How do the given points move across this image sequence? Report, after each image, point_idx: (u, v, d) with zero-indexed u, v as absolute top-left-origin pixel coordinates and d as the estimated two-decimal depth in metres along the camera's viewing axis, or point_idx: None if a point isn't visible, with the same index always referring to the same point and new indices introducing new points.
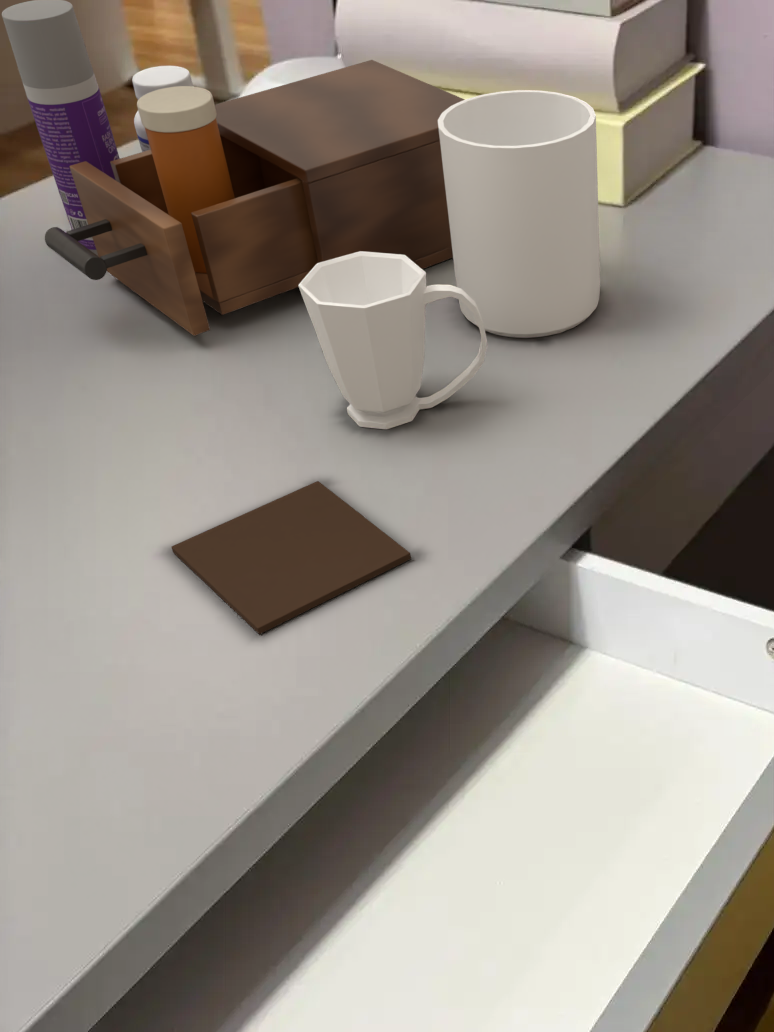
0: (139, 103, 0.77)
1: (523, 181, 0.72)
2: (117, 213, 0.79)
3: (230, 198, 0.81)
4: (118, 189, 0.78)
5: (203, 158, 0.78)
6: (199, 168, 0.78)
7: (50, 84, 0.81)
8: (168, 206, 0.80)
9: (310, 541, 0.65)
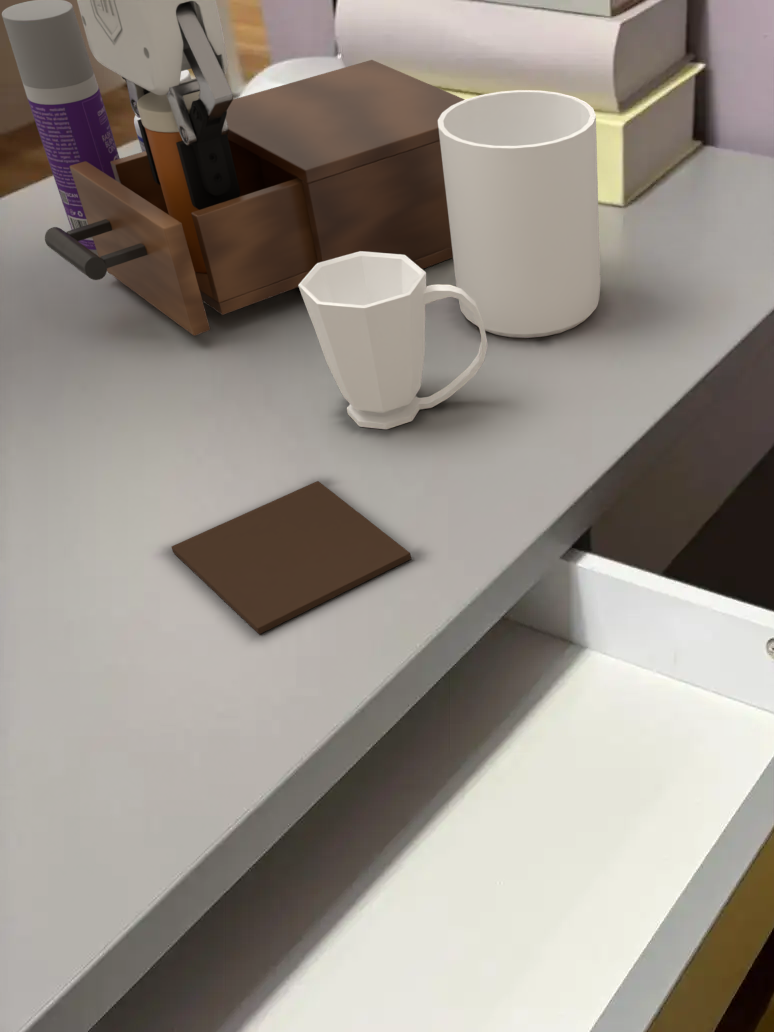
0: (139, 103, 0.77)
1: (523, 181, 0.72)
2: (117, 213, 0.79)
3: None
4: (118, 189, 0.78)
5: None
6: None
7: (50, 84, 0.81)
8: (168, 206, 0.80)
9: (310, 541, 0.65)
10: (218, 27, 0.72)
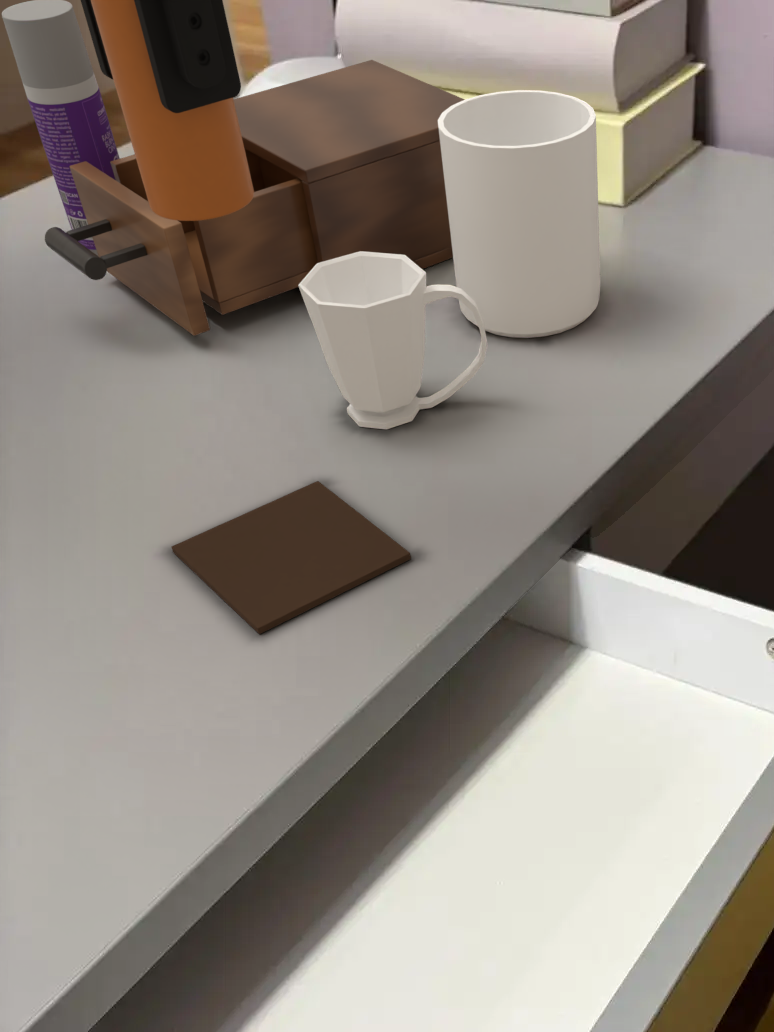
0: None
1: (523, 181, 0.72)
2: (117, 213, 0.79)
3: None
4: (118, 189, 0.78)
5: None
6: None
7: (50, 84, 0.81)
8: (125, 109, 0.49)
9: (310, 541, 0.65)
10: None
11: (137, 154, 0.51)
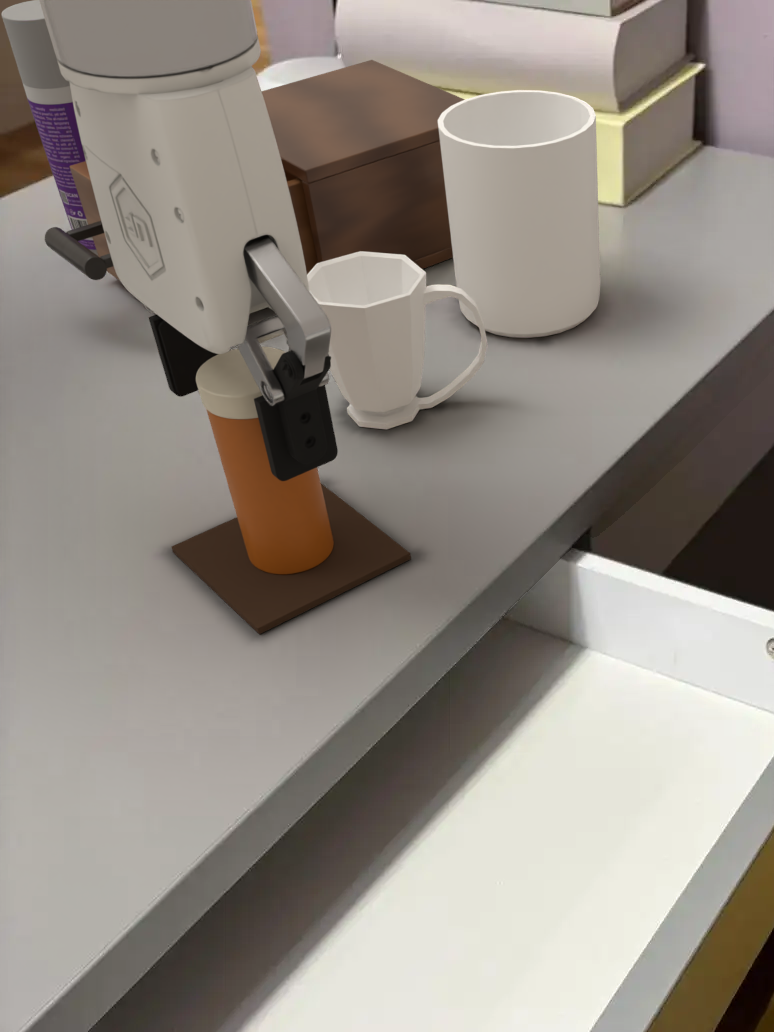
0: (199, 378, 0.57)
1: (523, 181, 0.72)
2: None
3: (315, 484, 0.61)
4: None
5: None
6: None
7: (50, 83, 0.81)
8: (234, 497, 0.61)
9: None
10: (300, 264, 0.51)
11: (241, 526, 0.62)
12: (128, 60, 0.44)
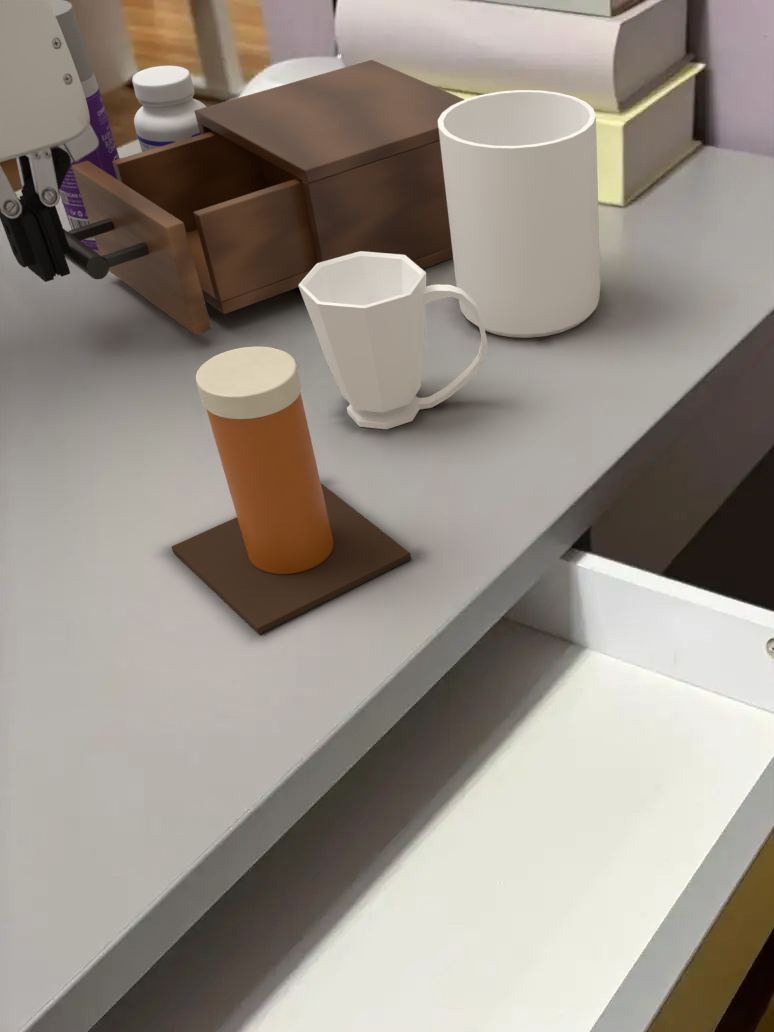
0: (199, 378, 0.57)
1: (523, 181, 0.72)
2: (119, 213, 0.79)
3: (315, 484, 0.61)
4: (120, 188, 0.78)
5: (283, 445, 0.58)
6: (278, 458, 0.58)
7: None
8: (234, 497, 0.61)
9: None
10: None
11: (241, 526, 0.62)
12: None
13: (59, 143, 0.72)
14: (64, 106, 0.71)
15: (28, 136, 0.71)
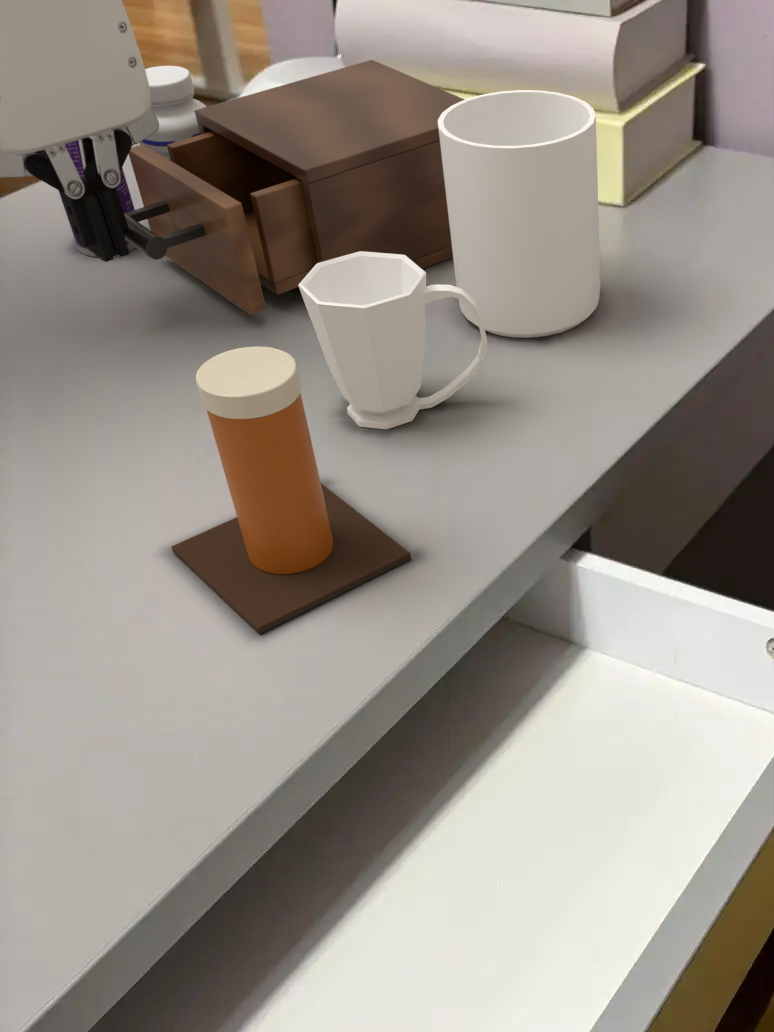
0: (199, 378, 0.57)
1: (523, 181, 0.72)
2: (176, 195, 0.81)
3: (315, 484, 0.61)
4: (177, 171, 0.80)
5: (283, 445, 0.58)
6: (278, 458, 0.58)
7: None
8: (234, 497, 0.61)
9: None
10: None
11: (241, 526, 0.62)
12: None
13: (122, 125, 0.74)
14: (128, 89, 0.73)
15: (93, 118, 0.73)
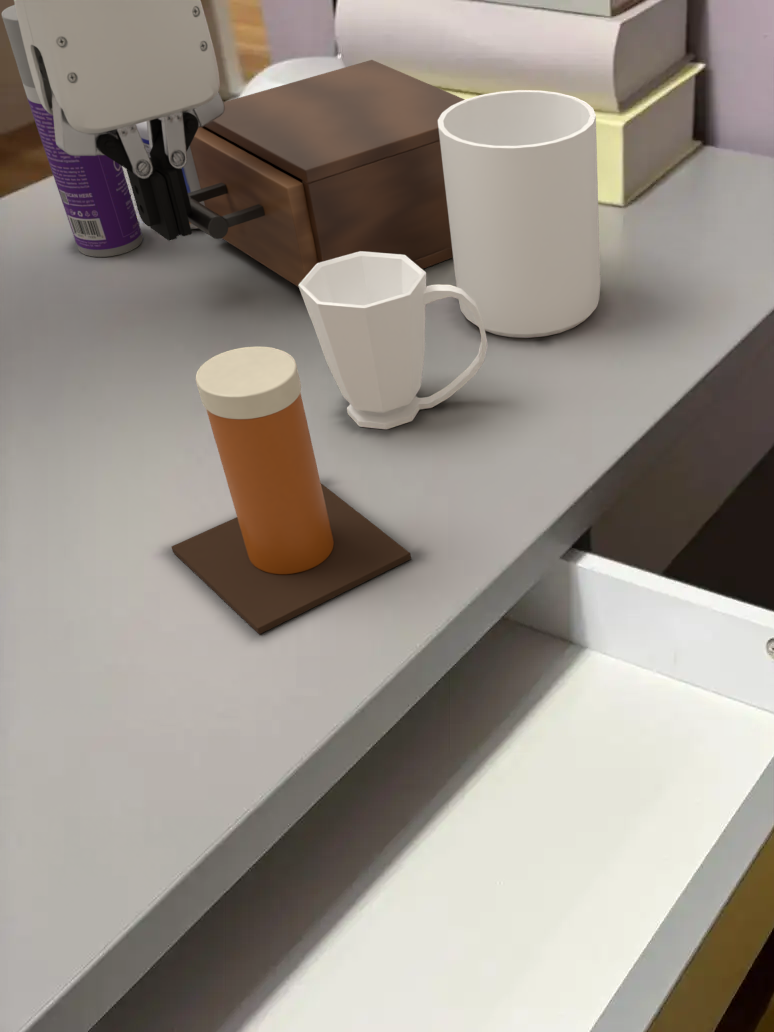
0: (199, 378, 0.57)
1: (523, 181, 0.72)
2: (235, 176, 0.82)
3: (315, 484, 0.61)
4: (237, 152, 0.82)
5: (283, 445, 0.58)
6: (278, 458, 0.58)
7: None
8: (234, 497, 0.61)
9: None
10: (57, 84, 0.71)
11: (241, 526, 0.62)
12: None
13: (191, 107, 0.76)
14: (198, 72, 0.75)
15: (164, 99, 0.75)
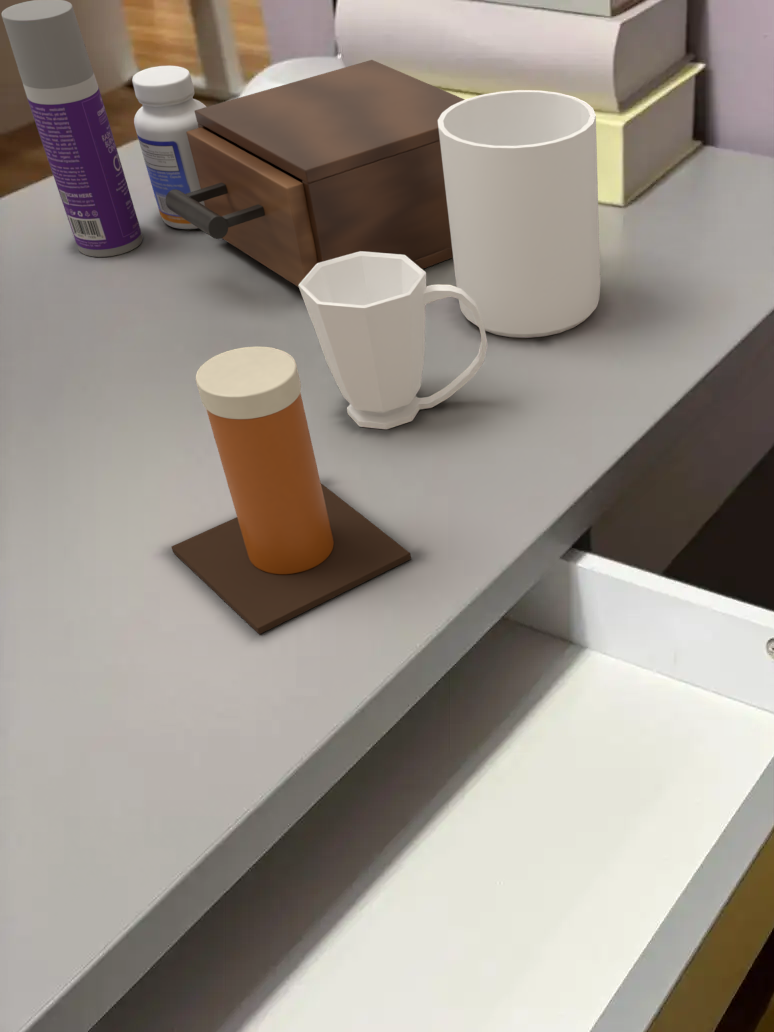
0: (199, 378, 0.57)
1: (523, 181, 0.72)
2: (235, 176, 0.82)
3: (315, 484, 0.61)
4: (237, 152, 0.82)
5: (283, 445, 0.58)
6: (278, 458, 0.58)
7: (50, 84, 0.81)
8: (234, 497, 0.61)
9: None
10: None
11: (241, 526, 0.62)
12: None
13: None
14: None
15: None
